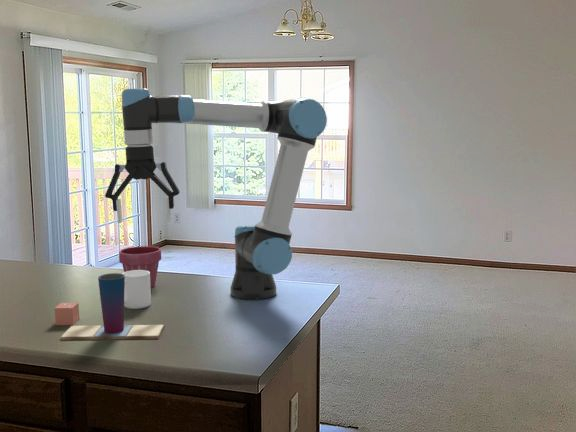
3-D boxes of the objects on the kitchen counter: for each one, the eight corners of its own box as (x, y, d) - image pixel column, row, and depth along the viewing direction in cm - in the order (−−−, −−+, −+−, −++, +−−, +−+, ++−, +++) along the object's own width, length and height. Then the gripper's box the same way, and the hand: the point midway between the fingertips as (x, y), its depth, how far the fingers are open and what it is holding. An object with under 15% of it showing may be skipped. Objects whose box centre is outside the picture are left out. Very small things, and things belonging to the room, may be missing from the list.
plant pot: (127, 280, 220) (126, 245, 218) (166, 280, 220) (165, 245, 218) (114, 291, 206) (113, 254, 204) (156, 291, 205) (155, 254, 203)
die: (79, 319, 177) (78, 302, 177) (73, 325, 172) (72, 307, 172) (62, 319, 177) (61, 302, 177) (55, 325, 172) (54, 307, 172)
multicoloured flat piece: (164, 327, 170) (164, 324, 170) (158, 338, 161) (158, 335, 161) (71, 328, 169) (71, 325, 169) (60, 339, 161) (60, 336, 160)
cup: (100, 335, 161) (97, 280, 159) (100, 327, 168) (98, 274, 165) (127, 333, 163) (125, 278, 161) (126, 325, 170) (124, 272, 167)
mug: (122, 314, 182) (121, 280, 180) (107, 308, 188) (106, 275, 186) (156, 305, 191) (155, 272, 189) (141, 299, 196) (139, 268, 195)
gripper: (186, 143, 174) (190, 217, 177) (96, 146, 172) (102, 220, 176) (183, 144, 166) (188, 221, 170) (89, 148, 165) (96, 225, 169)
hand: (144, 221), depth 173 cm, fingers open, 13 cm apart
